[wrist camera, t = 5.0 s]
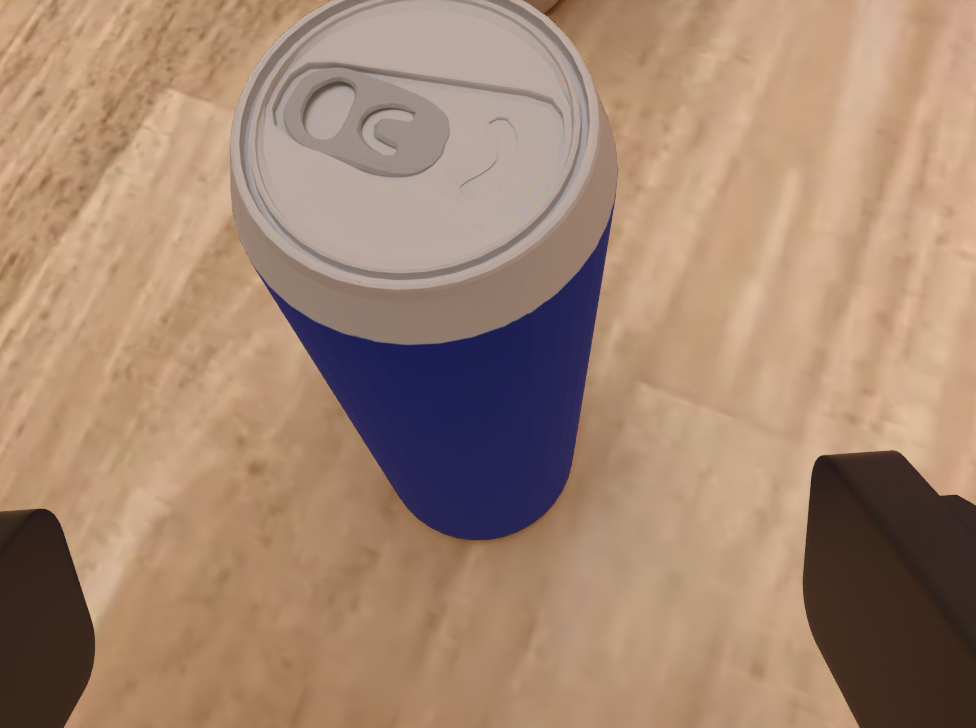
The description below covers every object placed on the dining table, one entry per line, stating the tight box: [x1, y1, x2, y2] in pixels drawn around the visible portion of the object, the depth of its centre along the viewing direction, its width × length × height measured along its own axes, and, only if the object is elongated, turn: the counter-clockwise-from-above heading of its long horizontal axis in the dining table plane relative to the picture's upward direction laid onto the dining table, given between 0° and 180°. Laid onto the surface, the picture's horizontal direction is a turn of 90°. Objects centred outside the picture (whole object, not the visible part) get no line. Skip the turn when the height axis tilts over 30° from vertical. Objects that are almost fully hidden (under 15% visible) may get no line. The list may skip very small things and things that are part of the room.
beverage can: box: [230, 0, 618, 540], centre depth 18 cm, size 5×5×15 cm
